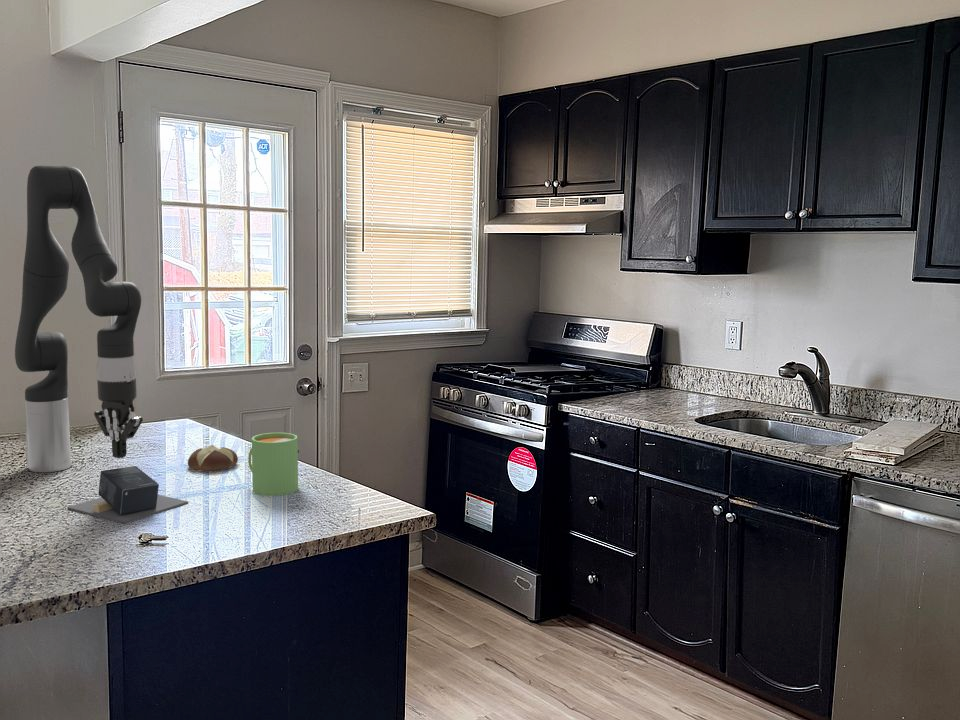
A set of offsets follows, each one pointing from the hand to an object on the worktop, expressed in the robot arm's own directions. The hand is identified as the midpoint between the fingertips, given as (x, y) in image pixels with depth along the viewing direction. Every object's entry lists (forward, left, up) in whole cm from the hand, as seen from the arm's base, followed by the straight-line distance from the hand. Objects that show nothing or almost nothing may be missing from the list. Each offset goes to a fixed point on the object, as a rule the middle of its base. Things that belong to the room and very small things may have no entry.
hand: (119, 457), depth 184 cm
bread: (-5, +31, -10) cm, 33 cm away
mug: (+20, +25, -10) cm, 33 cm away
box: (+1, -1, -5) cm, 5 cm away
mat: (+4, -1, -10) cm, 11 cm away
